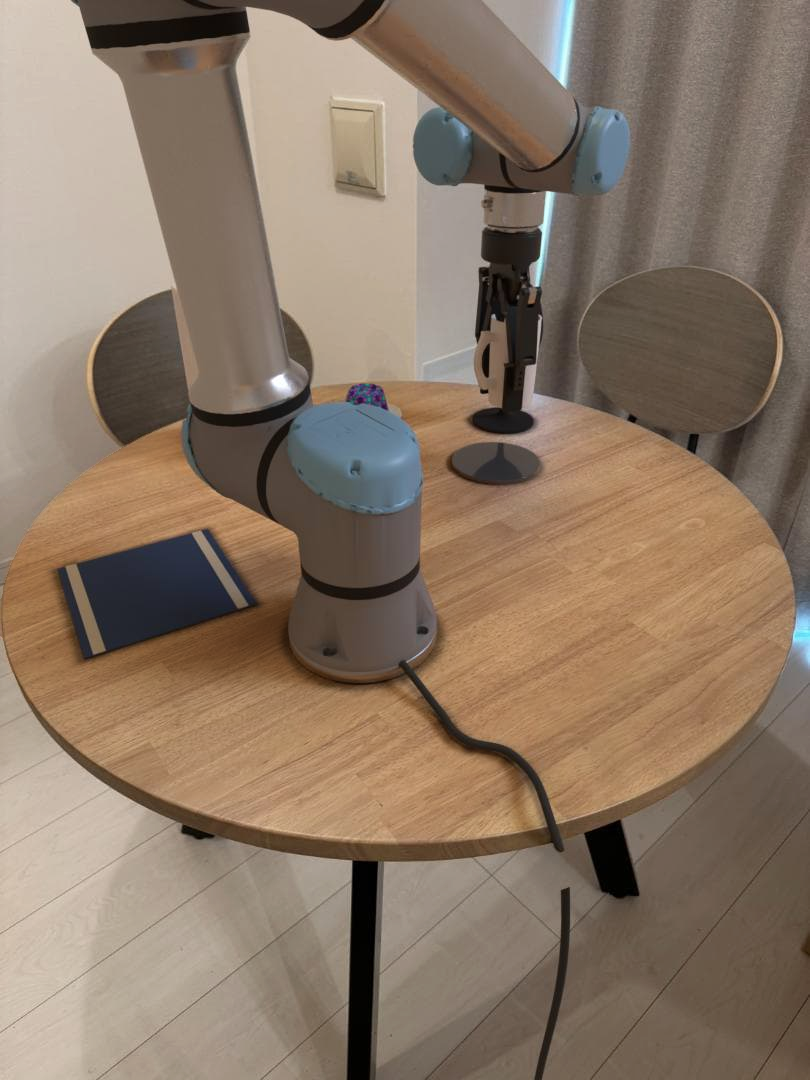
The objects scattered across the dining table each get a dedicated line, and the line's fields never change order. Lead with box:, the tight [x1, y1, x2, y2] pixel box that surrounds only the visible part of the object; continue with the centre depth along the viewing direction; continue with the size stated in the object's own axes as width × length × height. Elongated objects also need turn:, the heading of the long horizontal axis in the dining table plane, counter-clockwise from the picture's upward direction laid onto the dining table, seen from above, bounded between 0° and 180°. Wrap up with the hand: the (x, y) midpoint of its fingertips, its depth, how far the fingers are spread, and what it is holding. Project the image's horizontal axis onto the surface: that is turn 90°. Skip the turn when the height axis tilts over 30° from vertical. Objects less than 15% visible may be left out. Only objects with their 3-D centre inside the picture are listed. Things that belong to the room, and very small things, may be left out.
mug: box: [473, 314, 542, 409], centre depth 101 cm, size 10×7×12 cm, turn 121°
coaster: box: [451, 441, 541, 485], centre depth 110 cm, size 13×13×1 cm
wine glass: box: [471, 301, 544, 435], centre depth 118 cm, size 10×10×20 cm
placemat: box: [56, 528, 258, 660], centre depth 84 cm, size 18×18×1 cm
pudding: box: [345, 383, 403, 419], centre depth 123 cm, size 12×12×5 cm
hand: (500, 400), depth 104 cm, fingers closed on mug, 6 cm apart
